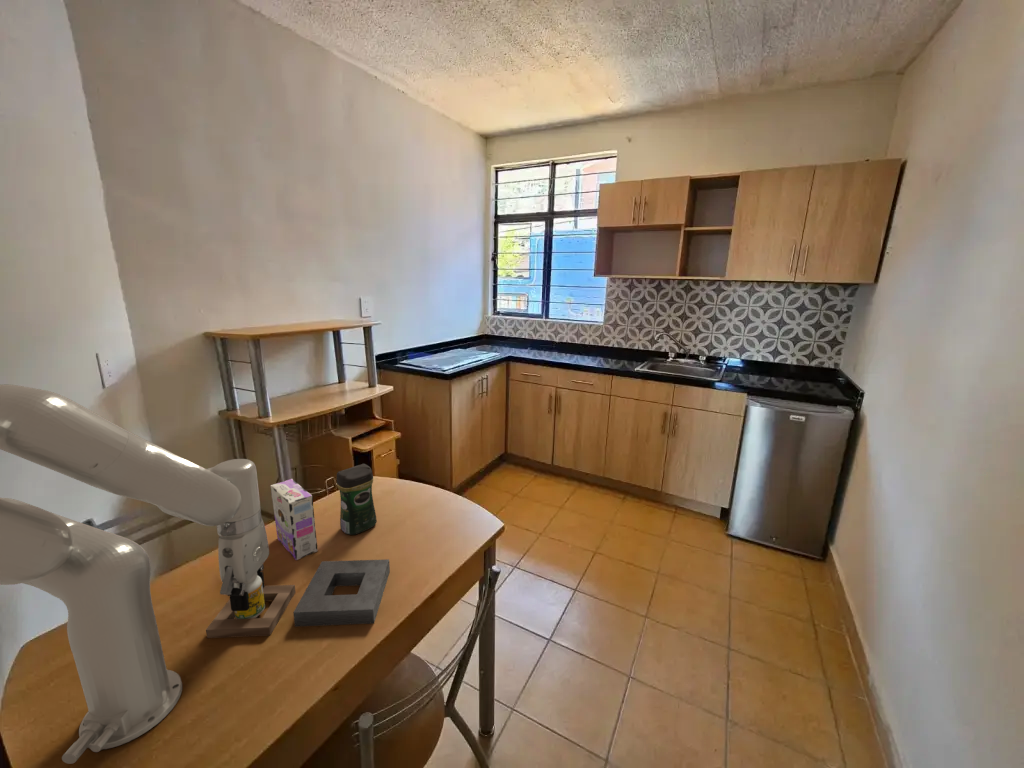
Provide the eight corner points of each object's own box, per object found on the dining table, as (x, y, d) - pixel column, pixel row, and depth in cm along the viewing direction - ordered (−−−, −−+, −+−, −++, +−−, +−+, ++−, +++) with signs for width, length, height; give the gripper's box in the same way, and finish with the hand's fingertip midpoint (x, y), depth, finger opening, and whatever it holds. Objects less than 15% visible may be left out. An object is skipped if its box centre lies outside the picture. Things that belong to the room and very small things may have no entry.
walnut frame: (270, 635, 83) (268, 627, 83) (207, 638, 82) (205, 629, 82) (295, 592, 95) (294, 584, 95) (240, 594, 94) (239, 586, 94)
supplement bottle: (264, 599, 91) (260, 561, 89) (265, 615, 87) (261, 575, 85) (235, 609, 88) (230, 569, 86) (235, 626, 84) (230, 584, 82)
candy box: (319, 551, 109) (313, 495, 106) (295, 561, 105) (288, 503, 101) (298, 530, 119) (292, 477, 115) (276, 538, 114) (269, 484, 110)
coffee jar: (367, 515, 127) (363, 458, 122) (380, 525, 122) (377, 467, 117) (336, 528, 120) (331, 468, 115) (349, 539, 115) (344, 478, 110)
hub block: (374, 623, 87) (373, 609, 86) (295, 626, 86) (293, 612, 85) (389, 571, 102) (389, 559, 102) (323, 573, 101) (321, 561, 100)
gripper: (234, 545, 75) (245, 630, 79) (279, 499, 92) (285, 571, 96) (190, 546, 74) (203, 632, 78) (243, 500, 91) (251, 572, 95)
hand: (248, 598), depth 87 cm, fingers closed on supplement bottle, 5 cm apart
